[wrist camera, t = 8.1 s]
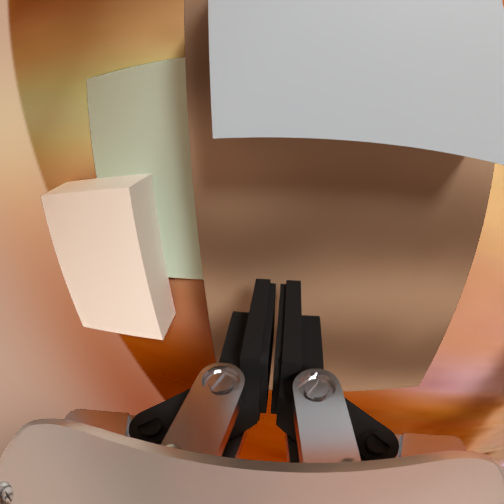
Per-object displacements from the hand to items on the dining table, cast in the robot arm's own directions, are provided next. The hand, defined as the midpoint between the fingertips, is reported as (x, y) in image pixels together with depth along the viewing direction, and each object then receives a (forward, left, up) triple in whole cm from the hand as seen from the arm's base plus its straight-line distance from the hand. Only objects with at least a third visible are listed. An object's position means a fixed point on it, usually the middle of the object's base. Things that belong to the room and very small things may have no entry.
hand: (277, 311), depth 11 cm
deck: (-3, +3, -5) cm, 7 cm away
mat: (-4, -7, -5) cm, 9 cm away
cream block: (0, -10, -2) cm, 10 cm away
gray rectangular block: (-10, +3, -1) cm, 10 cm away
